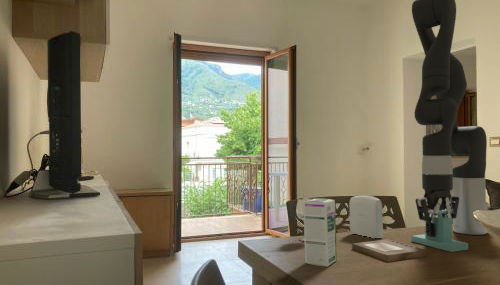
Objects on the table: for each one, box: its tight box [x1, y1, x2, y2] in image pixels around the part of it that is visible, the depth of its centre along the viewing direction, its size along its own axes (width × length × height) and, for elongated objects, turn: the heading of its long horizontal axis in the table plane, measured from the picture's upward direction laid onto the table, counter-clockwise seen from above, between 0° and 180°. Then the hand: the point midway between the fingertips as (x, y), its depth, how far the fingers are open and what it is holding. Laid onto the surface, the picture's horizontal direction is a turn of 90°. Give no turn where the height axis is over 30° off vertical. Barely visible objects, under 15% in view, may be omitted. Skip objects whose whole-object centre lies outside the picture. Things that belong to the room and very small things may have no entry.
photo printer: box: [348, 194, 384, 239], centre depth 119 cm, size 10×4×12 cm, turn 39°
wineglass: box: [295, 197, 314, 240], centre depth 114 cm, size 6×6×12 cm
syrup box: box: [303, 198, 338, 267], centre depth 91 cm, size 6×6×14 cm
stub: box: [411, 214, 469, 253], centre depth 106 cm, size 6×13×8 cm, turn 23°
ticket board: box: [351, 238, 427, 262], centre depth 99 cm, size 12×13×2 cm
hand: (438, 235), depth 106 cm, fingers open, 4 cm apart
